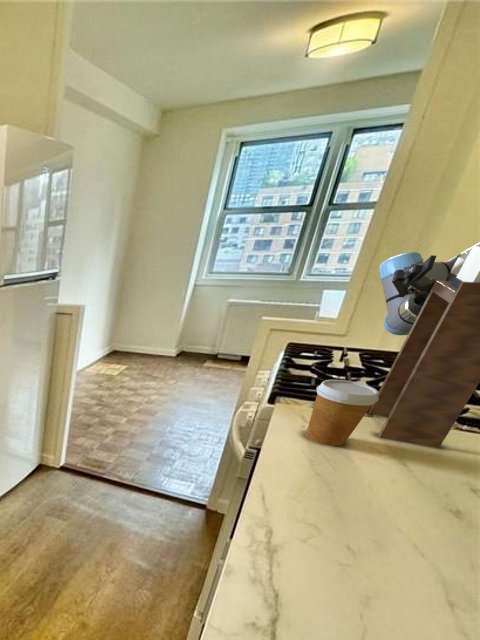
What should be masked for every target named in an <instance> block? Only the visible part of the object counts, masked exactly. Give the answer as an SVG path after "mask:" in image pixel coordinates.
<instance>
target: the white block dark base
mask: <svg viewBox="0 0 480 640" xmlns="http://www.w3.org/2000/svg"><path fill="white" fill-rule="evenodd" d="M471 247H472V249H471V251H470V253H469V255H468V256H467V257H458V259H457V261H456V263H455V265H454V266H453V268H452V270H451V272H450V273H449V274H448V276H447V279H448V280H450V281H452V285H454V286H456V287H459V285H460V283H461V281H468V282H480V245H476V244H473V245H472V246H471Z"/></svg>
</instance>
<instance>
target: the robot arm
mask: <svg viewBox="0 0 480 640" xmlns="http://www.w3.org/2000/svg"><path fill="white" fill-rule="evenodd" d="M475 245H480V241H479V242H477V243H476V244H475ZM472 247H473V246H471V247H469V248H467V249H466V250H464V251H462V252H460V253H459V254H457V255H455V256H454V257H452V258H450V259H449V260H446V261H436V258H437V255H434V254H433V255H430V256H429V257H428V258H427V259H426V260H424V258H423V257H422V254H421V253H419V252H417V251H410V252H404V253H401V254H397V255H395V256H392V257H390V258H387V259H386V260H384V261H382V262H381V264H379V267H378V269H379V277H380V278H379V281H380V282H381V286H382V290H383V291H382V292H383V295H384V300H385V305H386V311H387V314H386V316H385V317H384V320H383V327H384V329H385V330H386V331H387V332H388V333H389V334H392V335H395V336H408V334H409V332H410V330H411V328H412V326H413V324H414V322H415V320H416V318H417V316H418V314H419V312H420V310H421V308H422V306H423V305H424V303H425V301H426V299H427V297H428V295H429V293H430V291H431V289H432V287H433V285H434V283H435V281H436V280H438V281H450V280H448V279H447V276H448V274H449V273H450V272H451V270H452V268H453V266H454V265H455V263H456V261H457V259H458V257H467V256H468V255H469V253H470V251H471V249H472Z"/></svg>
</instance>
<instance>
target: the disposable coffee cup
mask: <svg viewBox="0 0 480 640" xmlns="http://www.w3.org/2000/svg"><path fill="white" fill-rule="evenodd" d="M378 392H379V390H378V389H376V388H375V387H372V386H370V385H367V384H364V383H360V382H357V381H351V380H344V379H325V380H323V381H322V382H321V383H320V384H319V385H317V386H316V393H317V394H316V397H315V401H314V403H313V407H312V411H311V415H310V419H309V422H308V426H307V430H306V433H305V436H306V438H308V439H309V440H310V441H312V442H315V443H317V444H321V445H326V446H333V447H339V446H344V445H345V444H346V442H347V440H348V439H349V438H350V437H351V435H352V434H353V432H354V431H355V430H356V428H357V427H358V425H359V423H360V422H362V419H363V418H364V417H365V416H366V414H367V413H368V412H369V410H370V408H371V406H372V404H374V403H375V402H377V401H378V399H379V398H378Z"/></svg>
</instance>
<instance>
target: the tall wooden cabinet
mask: <svg viewBox="0 0 480 640" xmlns="http://www.w3.org/2000/svg"><path fill="white" fill-rule="evenodd" d="M479 384H480V282H468V281H461V283H460V285H459V287H456V286H454V285H452V281H438V280H436V281H435V283H434V285H433V287H432V289H431V291H430V293H429V295H428V297H427V299H426V301H425V303H424V305H423V306H422V308H421V310H420V312H419V314H418V316H417V318H416V320H415V322H414V324H413V326H412V328H411V330H410V332H409V334H408V335H406V338H405V340H404V342H403V343H402V345H401V347H400V349H399V351H398V353H397V355H396V357H395V359H394V361H393V363H392V365H391V367H390V369H389V371H388V372H387V375H386V377H385V379H384V380H383V383H382V385H381V386H380V389H379V390H378V398H379V399H378V401H377V402H375V403H374V404H372V406H371V407H370V408H369V410H368V414H369V415H373V416H380V417H386V419H385V421H384V424H383V425H382V427H381V429H380V431H379V432H378V437H379V438H380V439H386V440H391V441H397V442H403V443H408V444H413V445H419V446H424V447H428V448H429V447H430V448H433V449H434V448H435V449H440V448H441V446H442V445H443V443H444V441H445V440H446V438H447V436H448V434H449V433H450V431H451V430H452V428H453V427H454V425H455V423H456V421H457V420H458V418H459V417H460V415H461V414H462V411H463V410H464V408H465V407H466V406H467V403H468V402H469V400H470V399H471V397H472V395H473V394H474V392H475V390H476V389H477V387H478V386H479Z"/></svg>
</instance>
